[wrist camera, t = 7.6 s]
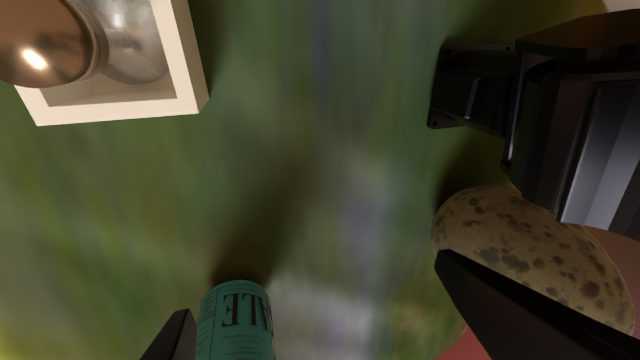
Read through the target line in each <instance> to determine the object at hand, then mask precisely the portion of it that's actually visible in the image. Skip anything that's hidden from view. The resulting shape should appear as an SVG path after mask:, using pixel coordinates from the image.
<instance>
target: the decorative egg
mask: <svg viewBox="0 0 640 360" xmlns="http://www.w3.org/2000/svg"><path fill="white" fill-rule="evenodd" d="M557 214H558V213H557V212H553V211H549V210H547V209H544V208H541V207H539V206H536V205H534V204H533V203H531V202H529V201H527V200H525V199H524V198H522V197H521V192H520V191H519V190H518V189H516V188H512V187H507V186H499V185H484V186H476V187H471V188H468V189H464V190H461V191H459V192H457V193H455V194H453V195H452V196H451V197H449V198H448V199H447V200H446V201H445V202H444V203H443V204H442V205H441V207H440V208H439V209H438V211H437V213H436V215H435V217H434V220H433V223H432V229H431V242H432V248H433V252H434V255H435V257H436V256H437V253H438V251H439V250H442V249H451V250H453V251H455V252H458V253H460V254H462V255H464V256H466V257H468V258H470V259H472V260H474V261H476V262H478V263H480V264H482V265H484V266H486V267H488V268H490V269H492V270H494V271H496V272H498V273H500V274H502V275H504V276H506V277H508V278H510V279H512V280H515V281H517V282H519V283H521V284H523V285H525V286H527V287H529V288H531V289H533V290H535V291H537V292H539V293H541V294H543V295H545V296H547V297H549V298H551V299H553V300H555V301H557V302H559V303H561V304H562V305H566V306H568V307H570V308H572V309H574V310H576V311H578V312H580V313H582V314H584V315H586V316H588V317H590V318H592V319H595V320H597V321H599V322H601V323H603V324H605V325H608V326H610V327H612V328H614V329H616V330H619V331H621V332H623V333H625V334H628V335H630V336H632V333H633V331H634V327H635V310H634V305H633V301H632V298H631V295H630V293H629V290H628V288H627V286H626V283H625V281H624V279H623V278H622V276H621V274H620V272H619V270H618V269H617V267H616V266H615V264H614V262H613V261H612V260H611V258H610V257H609V255H608V254H607V253H606V251H605V250H604V249H603V248H602V246H601V245H600V244H599V243H598V242H597V241H596V240H595V238H594V237H593V236H592V235H591V234H590V233H589V232H588V231H587V230H586V229H585V228H584V227H583V226H581V225H580V224H573V223H564V222H559V221H557V220H556V217H557Z"/></svg>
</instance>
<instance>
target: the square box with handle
mask: <svg viewBox="0 0 640 360" xmlns="http://www.w3.org/2000/svg"><path fill="white" fill-rule="evenodd" d="M144 1H145V2H146V3H148V4H149V5H150V6H151V7H152V10H153V13H154V17H155V20H156V24H157V27H158V31H159V34H160V38H161V42H162V45H163V49H164V52H165V56H166V59H167V63H168V66H169V70H168V71H167V73H166V74H165V75H164V76H163V77H161V78H160V79H158V80H156V81H153V82H151V83H147V84H141V85H132V84H125V83H121V82H118V81H115V80H113V79H111V78H109V77H107V76H105V75H104V74H102V73H101V72H100V73H99V74H98V75H97V76H95V77H93V78H91V79H87V80H83V81H78V82H74V83H69V84H64V85H59V86H54V87H49V88H26V87H21V86H16V85H14V86H15V88H16V89H17V91H18V93H19V95H20V96H21V98H22V100H23V102H24V103H25V105H26V107H27V109H28V111H29V112H30V114H31V116H32V118H33V119H34V121H35V123H36V125H37V126H45V125H57V124H70V123H82V122H95V121H108V120H120V119H133V118H146V117H158V116H171V115H184V114H196V113H199V112H200V111H201V109H202V108H203V107H204V105H205V104H206V103H207V101H208V100H209V94H208V90H207V85H206V81H205V76H204V72H203V67H202V63H201V59H200V54H199V50H198V45H197V41H196V36H195V32H194V27H193V23H192V19H191V14H190V10H189V5H188V1H187V0H144Z"/></svg>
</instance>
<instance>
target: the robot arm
mask: <svg viewBox="0 0 640 360" xmlns="http://www.w3.org/2000/svg"><path fill="white" fill-rule="evenodd" d="M505 48H506V49H505ZM512 48H513V47H512V44H511V43H494V44H463V45H445V46H443V47H442V48H441V50H440V53H439V58H438V64H437V70H436V75H435V80H434V86H433V91H432V97H431V103H430V109H429V115H428V120H427V126H428V127H429V128H431V129H441V128H450V127H459V126H468V127H471V128H474V129H477V130H479V131H482V132H485V133H488V134H491V135H494V136H496V137H499V138H502V139H505V146H504V153H503V160H501V164H500V168H501V169H502V170H503V171H504V172H505V173H506V174H507V175H508V176H509V177H510V180H511V182H512V183H513V185H514V186H515V187H516V188H517V189H518V190H519V191H520V192H521V197H522V198H524V199H525V200H527V201H529V202H531V203H533V204H534V205H536V206H539V207H541V208H544V209H547V210H549V211H553V212H557V213H558V214H557V217H556V220H557V221H559V222H564V223H573V224H581V225H587V226H592V227H596V228H600V229H604V230H608V231H611V232H614V233H617V234H620V235H623V236H626V237H629V238H631V239H634V240H637V241H639V242H640V9H629V10H622V11H615V12H608V13H601V14H594V15H588V16H583V17H579V18H576V19H574V20H571V21H568V22H565V23H562V24H559V25H556V26H553V27H551V28H548V29H545V30H542V31H539V32H536V33H533V34H530V35H527V36H525V37H522V38H519V39H516V44H515V50H512ZM447 50H448V53H447V55H446V51H447ZM434 121H435V122H434ZM433 122H434V124H433ZM432 124H433V125H432ZM434 268H435V271H436V273H437V275H438V277H439V279H440V280H441V282H442V284H443V286H444V287H445V289H446V291H447V293H448V294H449V296H450V298H451V300H452V302H453V303H454V305H455V307H456V308H457V310H458V311H459V313H460V314H461V316H462V317H463V319H464V320H465V322H466V323H467V324H468V326H469V327H470V329H471V330H472V331H473V333H474V334H475V336H476V337H477V339H478V340H479V342H480V343H481V345H482V346H483V348H484V349H485V350H486V352H487V353H488V355H489V356H490V358H491V359H492V360H640V340H639V339H637V338H634V337H632V336H630V335H628V334H625V333H623V332H621V331H619V330H616V329H614V328H612V327H610V326H608V325H605V324H603V323H601V322H599V321H597V320H595V319H592V318H590V317H588V316H586V315H584V314H582V313H580V312H578V311H576V310H574V309H572V308H570V307H568V306H566V305H562V304H561V303H559V302H557V301H555V300H553V299H551V298H549V297H547V296H545V295H543V294H541V293H539V292H537V291H535V290H533V289H531V288H529V287H527V286H525V285H523V284H521V283H519V282H517V281H515V280H512V279H510V278H508V277H506V276H504V275H502V274H500V273H498V272H496V271H494V270H492V269H490V268H488V267H486V266H484V265H482V264H480V263H478V262H476V261H474V260H472V259H470V258H468V257H466V256H464V255H462V254H460V253H458V252H455V251H453V250H451V249H442V250H439V251H438V253H437V256H436V260H435V264H434ZM196 338H197V325H196V322H195V320H194V317H193V315H192V313H191V311H190V309H183V310H178V311H176V312H174V313H173V314H172V316H171V317H170V318H169V320H168V321H167V322H166V324H165V325H164V327H163V328H162V329H161V331H160V332H159V333H158V335H157V336H156V338H155V339H154V340H153V342H152V343H151V345H150V346H149V347H148V349H147V350H146V351H145V353H144V354H143V356H142V357H141V358H140V360H195V354H196Z"/></svg>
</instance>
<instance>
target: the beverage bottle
mask: <svg viewBox="0 0 640 360" xmlns="http://www.w3.org/2000/svg"><path fill="white" fill-rule="evenodd" d="M267 296H268V295H267V294H266V292H265V290H264V289H263V288H262V287H261V286H260V285H258V284H257V283H255V282H252V281H247V280H233V281H228V282H224V283H222V284H219V285H217V286H215V287H214V288H212V289H211V290H210V291H209V292H208V293H207V294H206V295H205V297H204V299H203V300H202V302H201V305H200V309H199V315H198V317H197V318H198V321H197V323H196V324H197V338H196V354H195V360H274V359H276V358H275V357H276V356H275V357H273V355H274V354H273V346H272V336H273V338H274V335H273V325H272V326H271V324H270V315H271V310H270V306H269V303H270V302H269V301H268V297H267ZM269 310H270V312H269ZM271 321H272V315H271ZM271 327H272V331H271ZM271 333H272V334H271ZM274 351H275V349H274Z"/></svg>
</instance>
